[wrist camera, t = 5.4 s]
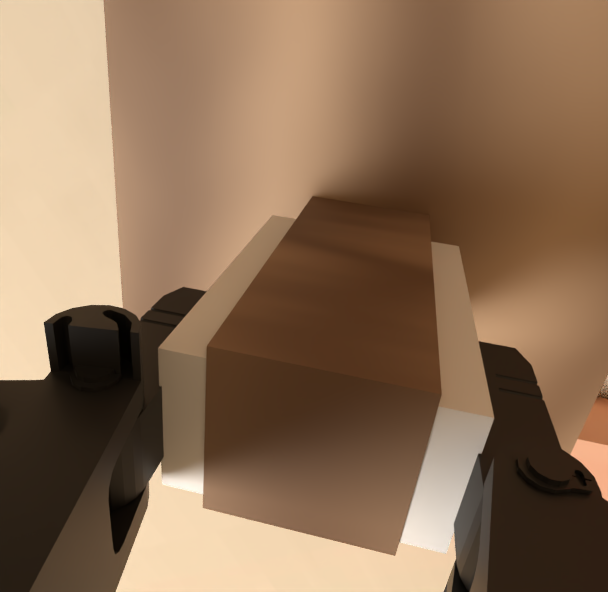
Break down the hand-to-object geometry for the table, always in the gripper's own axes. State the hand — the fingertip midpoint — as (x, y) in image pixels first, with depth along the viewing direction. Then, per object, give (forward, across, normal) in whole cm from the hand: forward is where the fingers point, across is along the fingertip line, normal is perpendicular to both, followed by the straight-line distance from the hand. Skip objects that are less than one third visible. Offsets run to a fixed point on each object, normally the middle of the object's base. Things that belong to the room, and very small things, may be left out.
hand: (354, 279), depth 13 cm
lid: (+2, 0, 0) cm, 2 cm away
